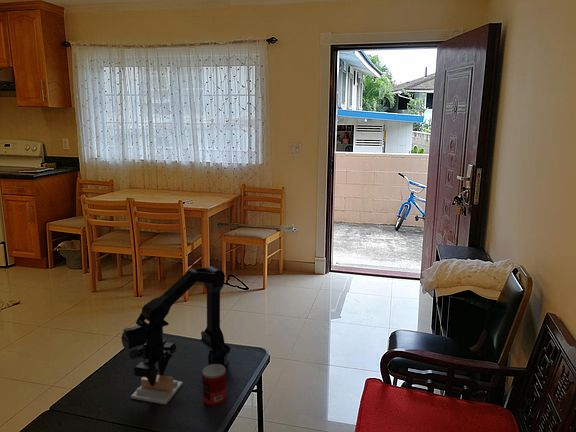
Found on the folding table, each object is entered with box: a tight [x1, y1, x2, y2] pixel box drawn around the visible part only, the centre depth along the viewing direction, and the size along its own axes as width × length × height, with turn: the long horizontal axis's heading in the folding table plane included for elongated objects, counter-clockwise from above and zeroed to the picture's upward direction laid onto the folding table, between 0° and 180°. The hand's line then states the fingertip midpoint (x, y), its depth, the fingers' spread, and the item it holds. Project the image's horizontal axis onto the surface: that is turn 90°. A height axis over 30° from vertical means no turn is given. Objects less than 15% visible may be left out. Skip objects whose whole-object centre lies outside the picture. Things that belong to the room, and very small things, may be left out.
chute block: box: [140, 374, 174, 394], centre depth 158 cm, size 10×4×4 cm, turn 75°
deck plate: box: [130, 379, 184, 405], centre depth 158 cm, size 13×12×2 cm
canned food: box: [201, 364, 227, 407], centre depth 153 cm, size 8×8×11 cm
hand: (157, 380), depth 157 cm, fingers open, 6 cm apart
